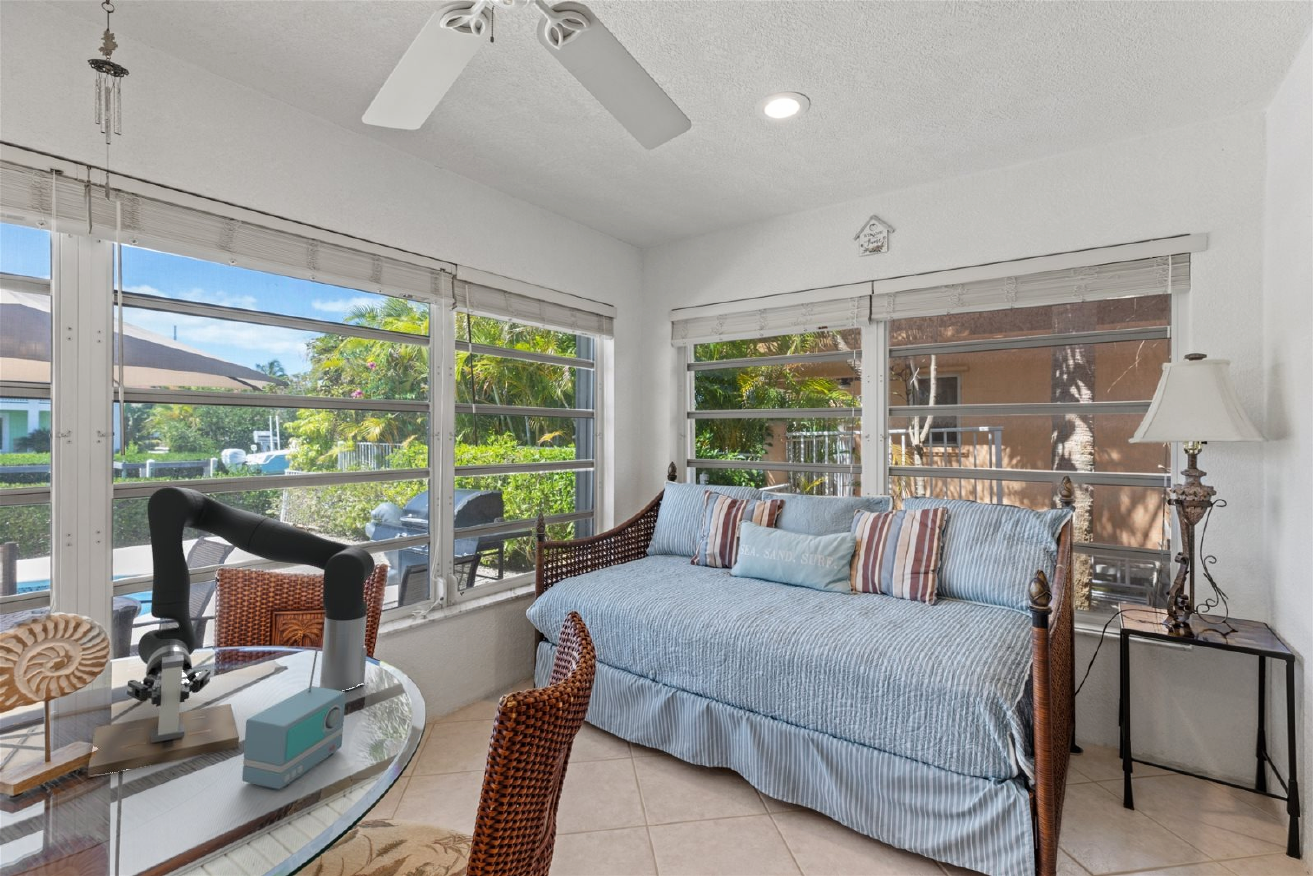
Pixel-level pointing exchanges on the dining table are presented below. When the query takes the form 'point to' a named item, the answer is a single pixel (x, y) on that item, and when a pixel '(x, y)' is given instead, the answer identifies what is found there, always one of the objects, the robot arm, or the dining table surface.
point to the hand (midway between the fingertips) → (171, 699)
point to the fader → (169, 701)
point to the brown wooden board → (135, 750)
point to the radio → (293, 736)
